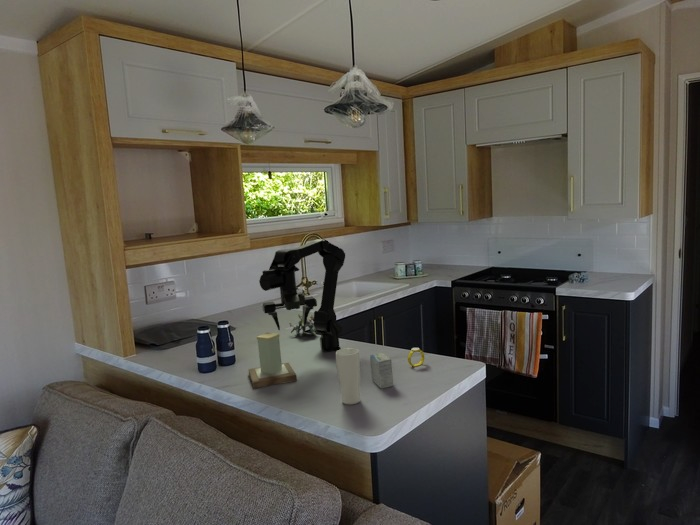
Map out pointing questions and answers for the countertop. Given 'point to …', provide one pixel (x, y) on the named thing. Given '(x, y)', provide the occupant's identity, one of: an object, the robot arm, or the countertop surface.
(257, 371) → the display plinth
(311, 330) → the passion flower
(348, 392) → the drinking glass
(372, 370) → the medicine box
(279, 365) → the tea tin
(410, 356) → the watch
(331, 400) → the countertop surface
